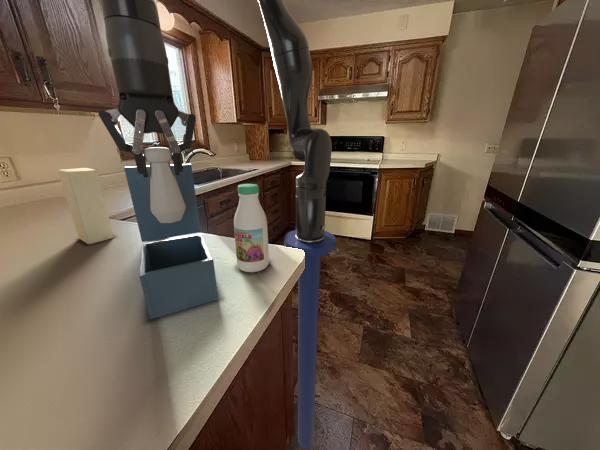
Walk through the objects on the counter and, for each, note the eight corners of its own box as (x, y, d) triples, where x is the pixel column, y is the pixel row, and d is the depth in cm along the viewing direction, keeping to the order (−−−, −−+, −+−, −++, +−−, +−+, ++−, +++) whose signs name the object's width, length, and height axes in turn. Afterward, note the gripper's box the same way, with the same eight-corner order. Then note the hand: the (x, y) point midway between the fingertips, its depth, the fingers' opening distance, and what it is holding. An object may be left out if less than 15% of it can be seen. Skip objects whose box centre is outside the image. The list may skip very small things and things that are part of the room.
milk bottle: (248, 255, 65) (242, 181, 58) (274, 260, 63) (271, 183, 56) (231, 269, 58) (222, 187, 52) (259, 275, 56) (254, 189, 49)
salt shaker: (172, 213, 50) (159, 146, 45) (194, 216, 48) (183, 147, 43) (145, 222, 44) (128, 147, 40) (169, 226, 42) (154, 148, 38)
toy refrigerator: (117, 236, 77) (99, 169, 70) (88, 244, 71) (65, 172, 64) (106, 231, 81) (88, 167, 74) (78, 238, 75) (56, 169, 68)
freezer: (218, 299, 48) (213, 259, 45) (150, 319, 42) (139, 276, 39) (205, 266, 60) (200, 233, 57) (151, 279, 54) (142, 243, 51)
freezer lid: (191, 164, 50) (188, 160, 55) (123, 167, 45) (126, 163, 49) (200, 232, 56) (197, 224, 61) (141, 242, 51) (142, 232, 55)
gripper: (188, 73, 44) (201, 170, 50) (86, 62, 37) (115, 175, 43) (194, 63, 38) (208, 175, 43) (73, 47, 31) (109, 182, 37)
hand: (162, 175), depth 43 cm, fingers closed on salt shaker, 4 cm apart
